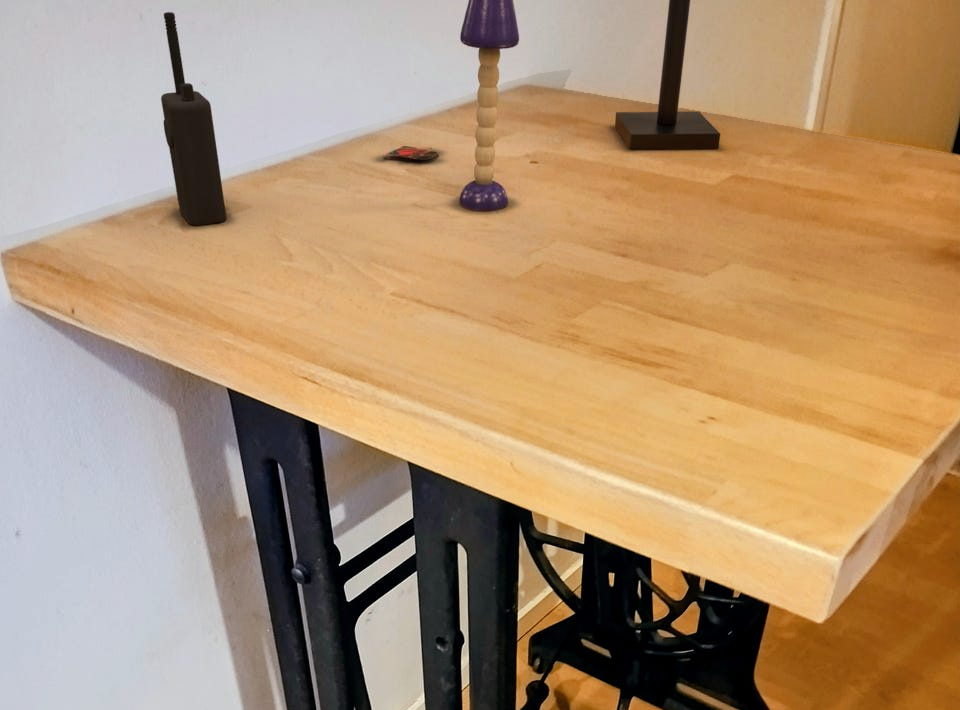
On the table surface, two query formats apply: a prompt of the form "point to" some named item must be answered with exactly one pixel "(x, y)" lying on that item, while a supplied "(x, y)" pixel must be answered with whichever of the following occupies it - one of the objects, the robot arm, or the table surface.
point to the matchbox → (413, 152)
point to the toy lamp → (487, 94)
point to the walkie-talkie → (191, 143)
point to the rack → (669, 101)
